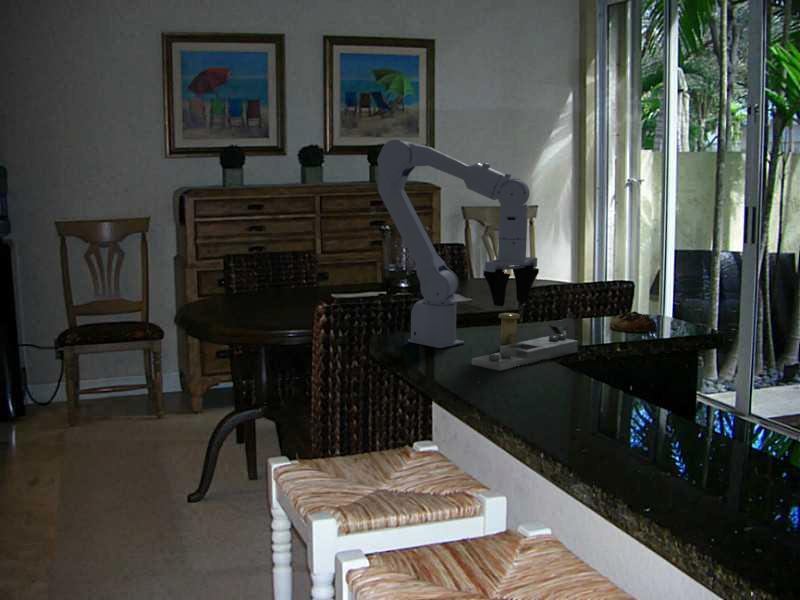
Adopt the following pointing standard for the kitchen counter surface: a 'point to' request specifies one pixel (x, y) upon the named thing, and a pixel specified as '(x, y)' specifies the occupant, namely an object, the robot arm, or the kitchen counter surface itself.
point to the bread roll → (633, 322)
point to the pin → (508, 328)
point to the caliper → (565, 325)
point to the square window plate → (505, 360)
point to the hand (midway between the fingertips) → (510, 303)
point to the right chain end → (543, 347)
